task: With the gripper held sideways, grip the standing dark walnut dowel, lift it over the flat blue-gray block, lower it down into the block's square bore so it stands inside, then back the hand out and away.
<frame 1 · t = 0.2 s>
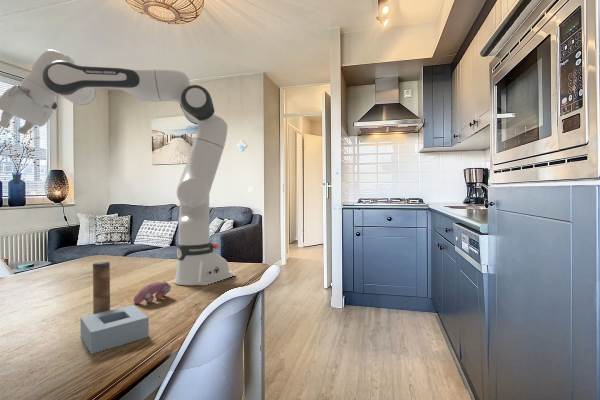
hand: (12, 130, 99), 54 cm above the table, tool tilted 30°, fingers open, 8 cm apart
walnut dowel: (101, 321, 78), on the table
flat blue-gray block: (114, 336, 69), on the table
video game controller: (153, 301, 93), on the table
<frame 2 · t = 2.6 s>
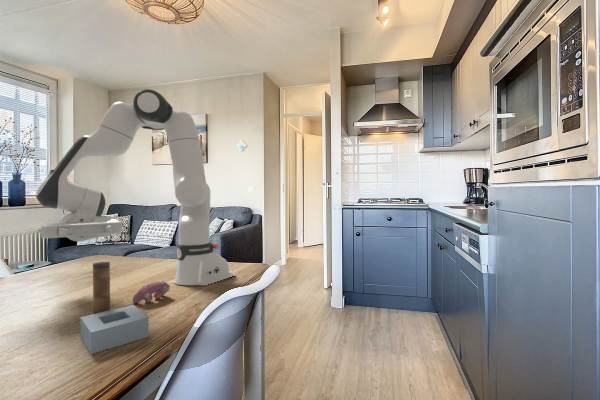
hand: (89, 231, 87), 22 cm above the table, tool horizontal, fingers open, 8 cm apart
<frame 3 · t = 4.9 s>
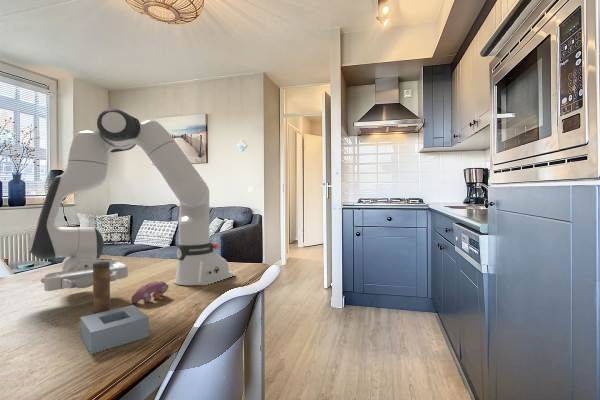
hand: (93, 281, 84), 8 cm above the table, tool horizontal, fingers open, 8 cm apart
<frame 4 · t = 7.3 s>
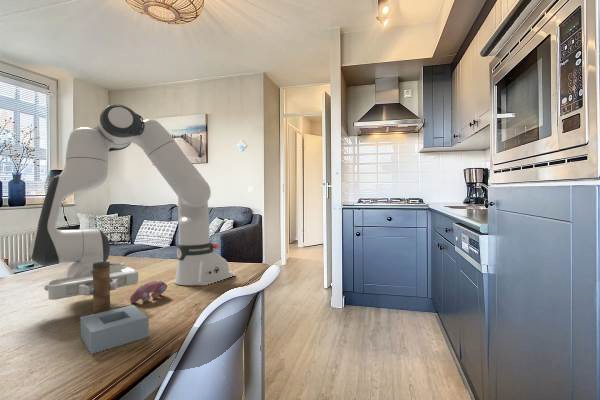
hand: (102, 289, 77), 9 cm above the table, tool horizontal, fingers closed on walnut dowel, 4 cm apart
walnut dowel: (101, 321, 78), on the table, touching gripper
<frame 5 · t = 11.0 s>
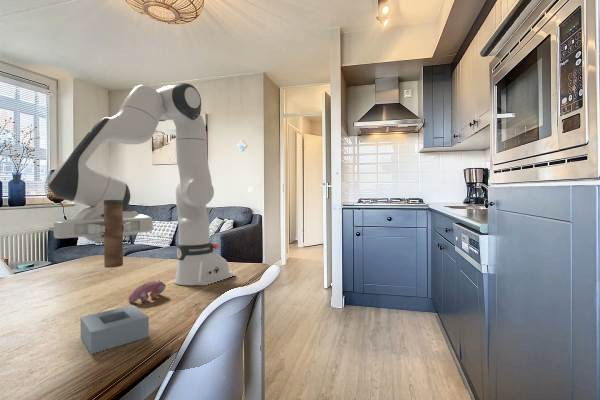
hand: (114, 228, 68), 25 cm above the table, tool horizontal, fingers closed on walnut dowel, 4 cm apart
walnut dowel: (113, 265, 69), point 16 cm above the table, touching gripper
when the fingers open (10 cm above the table, at t = 14.7 s): walnut dowel drops 1 cm, resting in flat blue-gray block.
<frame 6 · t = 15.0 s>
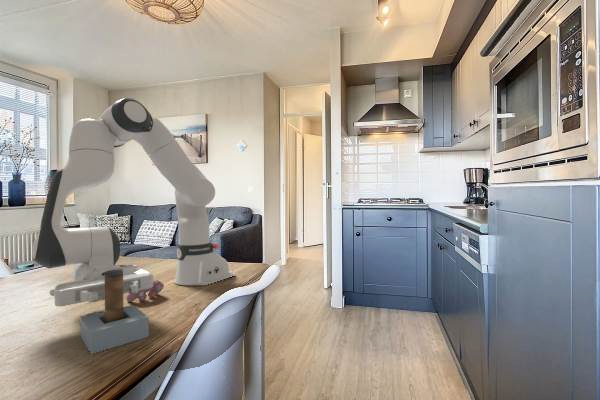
hand: (115, 294, 68), 10 cm above the table, tool horizontal, fingers open, 7 cm apart
walnut dowel: (114, 336, 69), resting in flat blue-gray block
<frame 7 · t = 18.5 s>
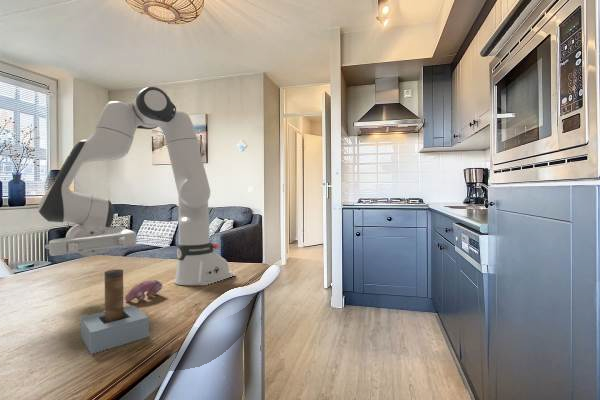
hand: (101, 245, 79), 19 cm above the table, tool horizontal, fingers open, 8 cm apart
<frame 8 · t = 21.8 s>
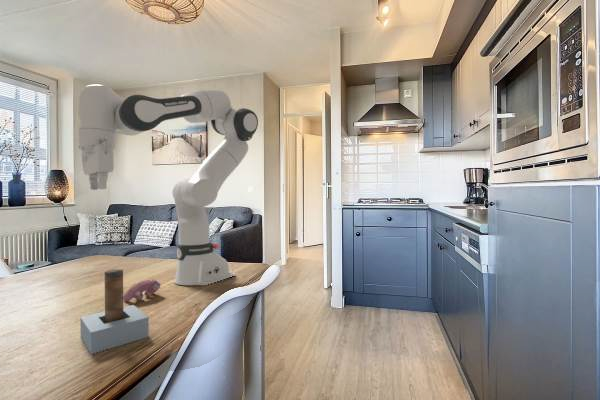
hand: (98, 189, 88), 34 cm above the table, tool pointing down, fingers open, 8 cm apart
at the end: walnut dowel 0.0 cm from the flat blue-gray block (horizontally); walnut dowel resting in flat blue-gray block; walnut dowel tilted 0° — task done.
